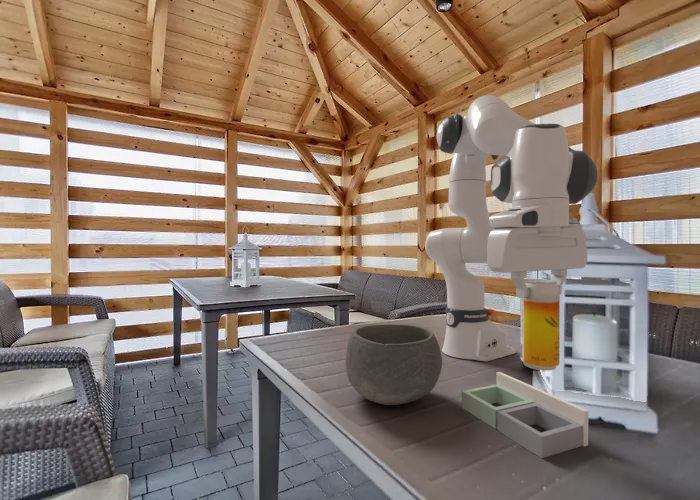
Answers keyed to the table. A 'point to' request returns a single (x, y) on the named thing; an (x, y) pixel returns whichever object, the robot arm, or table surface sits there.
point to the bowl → (393, 362)
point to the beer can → (540, 325)
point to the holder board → (529, 415)
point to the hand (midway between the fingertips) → (539, 296)
